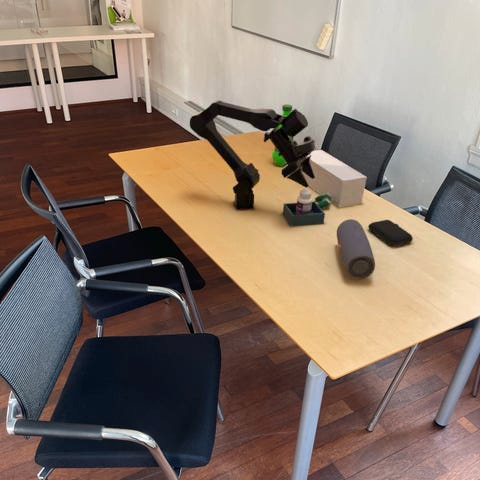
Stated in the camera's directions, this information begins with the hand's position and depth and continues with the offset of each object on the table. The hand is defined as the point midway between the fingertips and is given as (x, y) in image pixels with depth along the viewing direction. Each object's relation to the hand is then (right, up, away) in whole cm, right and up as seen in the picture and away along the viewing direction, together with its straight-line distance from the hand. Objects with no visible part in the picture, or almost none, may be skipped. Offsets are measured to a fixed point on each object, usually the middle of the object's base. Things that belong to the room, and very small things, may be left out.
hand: (310, 182), depth 162 cm
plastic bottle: (-5, +23, +52) cm, 57 cm away
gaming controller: (+7, -4, +18) cm, 20 cm away
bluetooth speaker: (+11, -30, -14) cm, 35 cm away
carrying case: (+28, -19, +1) cm, 34 cm away
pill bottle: (-2, -10, +9) cm, 14 cm away
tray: (-2, -11, +9) cm, 14 cm away
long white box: (+11, +6, +30) cm, 33 cm away
